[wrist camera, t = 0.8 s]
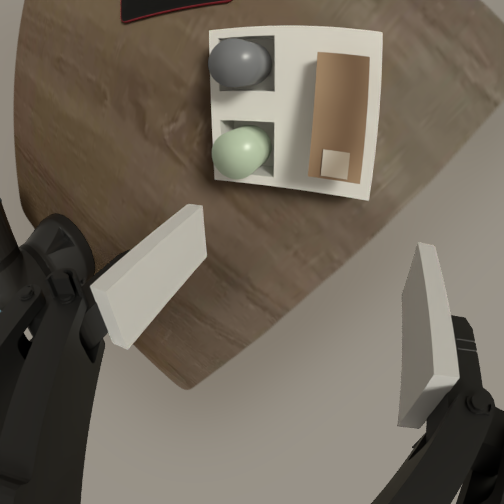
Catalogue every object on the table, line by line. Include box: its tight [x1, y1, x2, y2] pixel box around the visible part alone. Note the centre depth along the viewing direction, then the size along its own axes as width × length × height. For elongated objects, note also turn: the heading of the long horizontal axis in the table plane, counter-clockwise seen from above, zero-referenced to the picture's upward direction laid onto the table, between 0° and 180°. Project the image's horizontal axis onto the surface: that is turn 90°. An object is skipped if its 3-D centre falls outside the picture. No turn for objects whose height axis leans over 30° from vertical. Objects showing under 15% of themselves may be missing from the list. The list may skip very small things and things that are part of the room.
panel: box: [209, 26, 382, 201], centre depth 26 cm, size 15×15×5 cm
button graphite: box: [208, 38, 272, 87], centre depth 23 cm, size 4×4×4 cm
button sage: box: [212, 125, 272, 179], centre depth 27 cm, size 4×4×4 cm
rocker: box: [308, 52, 370, 184], centre depth 22 cm, size 4×10×2 cm, turn 1°
